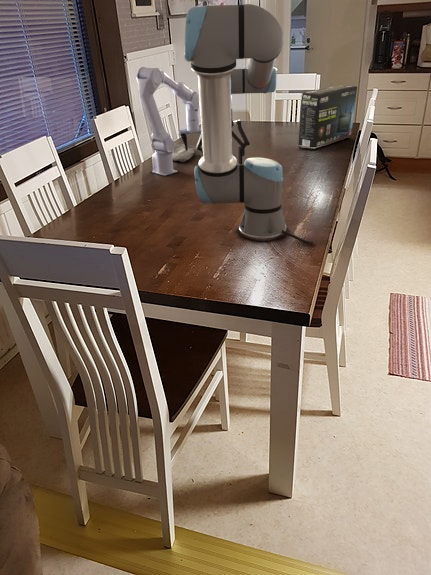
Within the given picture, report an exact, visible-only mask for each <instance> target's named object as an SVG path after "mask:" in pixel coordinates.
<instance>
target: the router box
mask: <svg viewBox="0 0 431 575" xmlns="http://www.w3.org/2000/svg"><path fill="white" fill-rule="evenodd" d="M357 93H358V86H356V85H350V84H339V85H338V84H337V85H334V86H328V87H324V88H318V89H314V90H309V91H304V92H301V93H300V109H299V110H300V111H299V124H298V137H297V146H298V145H302V146H307V147H317V146H320V145H323V144H325V143H328V142H331V141H333V140H336V139H338V138H341V137H344V136H347V135H351V136H352V133H353V132H352V131H353V125H354V115H355V109H356V99H357ZM311 151H313V150H312V149H311Z"/></svg>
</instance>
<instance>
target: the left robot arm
mask: <svg viewBox="0 0 431 575" xmlns="http://www.w3.org/2000/svg"><path fill="white" fill-rule="evenodd" d="M135 78H136V81H137V90H138V96H139V99H140V102H141V105H142V108H143V111H144V113H145V116H146V118H147V122H148V124H149V126H150V130H151V135H150V141H151V142H150V144H151V148H152V149H153V150H154V153H153V154H152V156H151V161H152V162H151V163H152V170H151V172H152V173H153V174H157V175H161V176H164V177H165V176H168V175H172V174H176V173H178V170H176V169H174V160H173V159H172V153H173V151H174V149H175V145H176V143H175V140H174V139H173V138H172V137H171V134H170V133H169V132H168V131H167V130H166V128H165V126H164V123H163V120H162V117H161V114H160V111H159V108H158V106H157V103H156V100H155V97H154V94H155V92H156V91H157V90H158V88H159V87H160V86H161V85H164V86H165V87H167V88H168V89H170V90H172V94H173V95H174V96H176V97H177V98H178V99H180V100H182V103H183V104H185V118H186V128H183V129H177V135H178V136H180V138H181V140H182V142H183V143H184V145H185V150H188V148H187V147H188V136H187V135H192V134H200V135H201V132H202V131H201V127H200V114H199V113H200V101H199V92H197V91H193V90H192V88H191V87H188V86H186V84H185V82H183V81H178V82H176V81H175V80H174V79H172V77H170V76H169V75H168V74H167V73H165V71H164V70H162V69H161V68H160V67H146V66H141V67H140V68H138V70H137V73H136V75H135ZM200 135H199V136H200Z"/></svg>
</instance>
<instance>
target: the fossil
mask: <svg viewBox="0 0 431 575" xmlns="http://www.w3.org/2000/svg"><path fill="white" fill-rule="evenodd" d="M187 148H188V150H185V145H184V142H183V143H181V142H176V143H175V149H174V151H173V153H172V159H173V162H177V161H179V162H180V163H185V162H187V161H188V160H190V159H191V158H192V157H193V156H194V155H197V154H198V153H199V150H197V149H196V146H195V145H187Z"/></svg>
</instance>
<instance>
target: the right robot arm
mask: <svg viewBox="0 0 431 575" xmlns="http://www.w3.org/2000/svg"><path fill="white" fill-rule="evenodd" d="M183 45H184V46H183V55H184V56H183V58H184V61H186V62H188V63H189V62H190V68H191V70H192V71H193V72H194V73H195V74H196V75H197V83H198V84H197V86H198V94H199V101H200V103H199V113H200V114H199V117H200V128H201V131H202V132H201V135H199V138H198V140H197V142H196V145H195V147H196V149H197V150H198V151H200V159H199V160H198V164H197V165H195V166H194V170H193V171H194V173H193V174H194V183H195V184H194V185H195V189H196V193H197V197H198V199H199V201H200V202H201V203H203V204H213V205H216V204H244V211H243V213H242V216H241V220H240V222H239V226H238V232H239V235H240V236H241V237H242V238H244V239H247V240H250V241H254V242H271V241H277V240H279V239H281V238H283V237H285V235H286V236H288V237H291V238H293V239H295V240H297V241H299V242H301V243H304V244H305V245H306V244H307V245H311V246H313V244H314V242H313V241H309V240H307V239H304V238H301V237H299V236H297V235H295V234H293V233H291V232H289V231H287V223H286V221H285V216H284V214H283V210H282V200H283V182H284V177H283V176H284V175H283V173H284V172H283V171H284V170H283V166H282V164H280V162H278V161H276V160H274V159H270V158H265V157H248V158H245V159H244V162H243V157H244V156H245V152H246V150H245V149H246V147H247V146H250V141H249V139H248V137H247V135H246V133H245V131H244V129H243V127H242V121H241V120H240V119H236V120H233V108H232V107H233V95H243V94H268V93H269V94H270V93H274V92H276V89H277V77H278V75H277V74H278V73H277V70H276V68H275V67H274V66H275V62H276V59H277V58H278V57H279V55H280V54H281V52H282V49H283V45H284V31H283V29H282V26H281V24H280V23H279V21H278V19H277V18H276V17H275V16H274V15H273V14H272V13H271V12H270V11H268V10H266V9H265V8H264V7H261V6H259V5H257V4H256V5H255V4H251V3H244V4H221V5H220V4H218V5H208V4H205V5H202V6H194V7H191V8H189V9H188V11H187V13H186V16H185V26H184V44H183ZM245 59H248V63H247V64H248V66H247V68H237V60H245ZM234 126H235V127H236V128H237V130H238V132H239V135H240V136H241V139H242V140H241V139H240V138H239V137H238V135H237V134H236V133H235V131H234V130H232V129H233V127H234ZM233 139H234V140H235V141H236V142H237V143H238V145H239V146H238V149H237V152H238V156H237V157H236V156H234V154H233ZM237 158H238V159H237Z"/></svg>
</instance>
